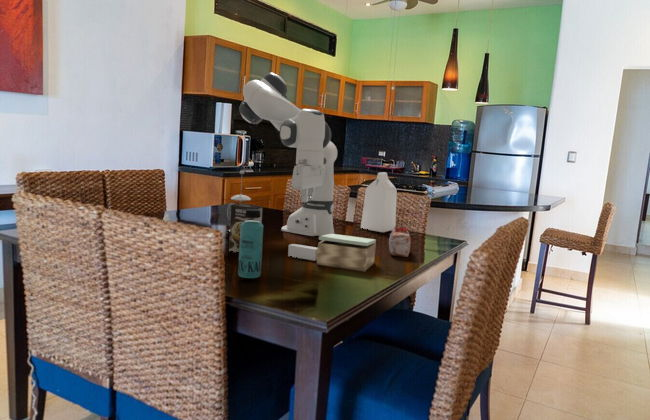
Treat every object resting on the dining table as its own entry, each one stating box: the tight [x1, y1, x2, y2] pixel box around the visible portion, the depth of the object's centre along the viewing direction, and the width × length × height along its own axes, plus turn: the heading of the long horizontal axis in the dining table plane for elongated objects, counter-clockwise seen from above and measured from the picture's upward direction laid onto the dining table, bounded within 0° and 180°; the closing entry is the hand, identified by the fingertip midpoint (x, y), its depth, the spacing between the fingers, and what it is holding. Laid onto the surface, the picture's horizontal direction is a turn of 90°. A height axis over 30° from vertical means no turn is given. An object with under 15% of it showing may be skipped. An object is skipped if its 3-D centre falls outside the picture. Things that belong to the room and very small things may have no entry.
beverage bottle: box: [237, 209, 264, 279], centre depth 139 cm, size 6×7×20 cm
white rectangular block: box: [287, 243, 318, 262], centre depth 170 cm, size 10×3×4 cm, turn 67°
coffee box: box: [228, 202, 264, 253], centre depth 171 cm, size 9×6×16 cm
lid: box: [318, 233, 377, 246], centre depth 165 cm, size 16×13×1 cm
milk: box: [360, 171, 398, 233], centre depth 232 cm, size 12×12×26 cm
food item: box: [388, 226, 411, 258], centre depth 185 cm, size 14×8×10 cm, turn 176°
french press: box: [226, 170, 252, 232], centre depth 203 cm, size 10×12×25 cm
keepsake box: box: [316, 240, 377, 273], centre depth 165 cm, size 16×12×7 cm
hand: (307, 201), depth 167 cm, fingers open, 3 cm apart
